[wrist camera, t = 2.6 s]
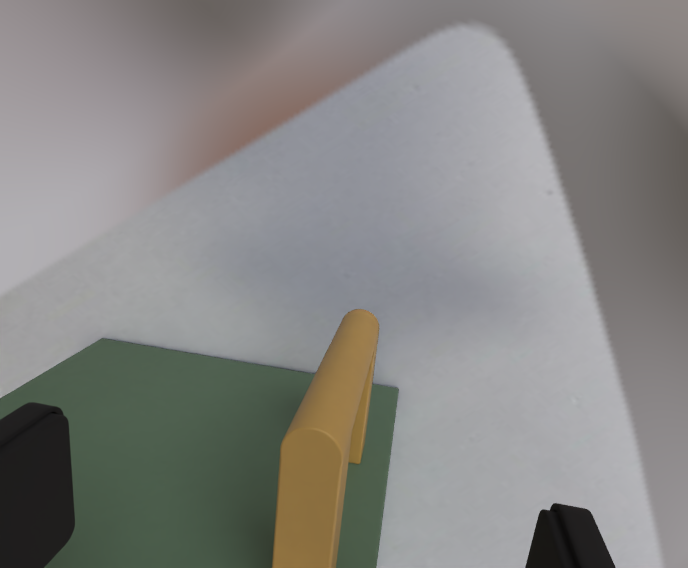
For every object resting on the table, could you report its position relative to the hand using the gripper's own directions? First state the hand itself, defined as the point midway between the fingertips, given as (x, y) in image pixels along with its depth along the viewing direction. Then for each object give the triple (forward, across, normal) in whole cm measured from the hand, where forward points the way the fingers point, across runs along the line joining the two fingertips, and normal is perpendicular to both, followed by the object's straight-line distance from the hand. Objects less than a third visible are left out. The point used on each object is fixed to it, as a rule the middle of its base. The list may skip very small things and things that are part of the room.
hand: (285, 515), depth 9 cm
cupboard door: (+17, +7, +3) cm, 19 cm away
